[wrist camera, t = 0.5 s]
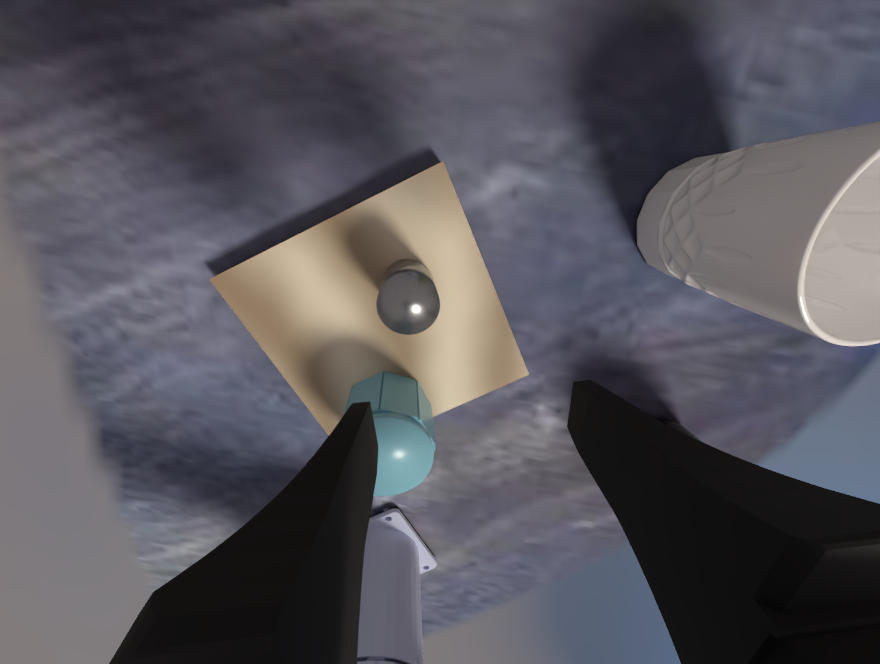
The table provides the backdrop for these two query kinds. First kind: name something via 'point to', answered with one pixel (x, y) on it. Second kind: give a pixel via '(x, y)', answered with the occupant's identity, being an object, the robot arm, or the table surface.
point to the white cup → (778, 230)
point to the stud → (408, 297)
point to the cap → (398, 430)
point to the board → (355, 296)
